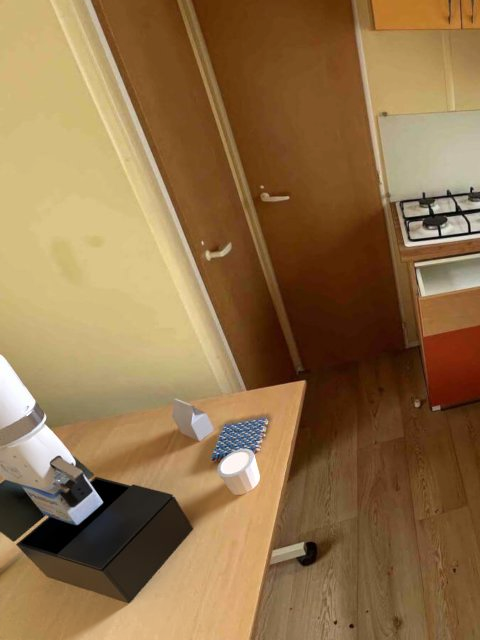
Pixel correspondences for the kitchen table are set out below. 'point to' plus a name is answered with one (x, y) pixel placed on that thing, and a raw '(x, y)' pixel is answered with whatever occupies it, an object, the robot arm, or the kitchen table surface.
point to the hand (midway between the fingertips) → (62, 493)
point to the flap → (22, 507)
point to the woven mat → (240, 438)
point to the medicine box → (63, 502)
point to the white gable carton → (191, 420)
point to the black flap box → (111, 541)
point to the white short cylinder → (239, 471)
